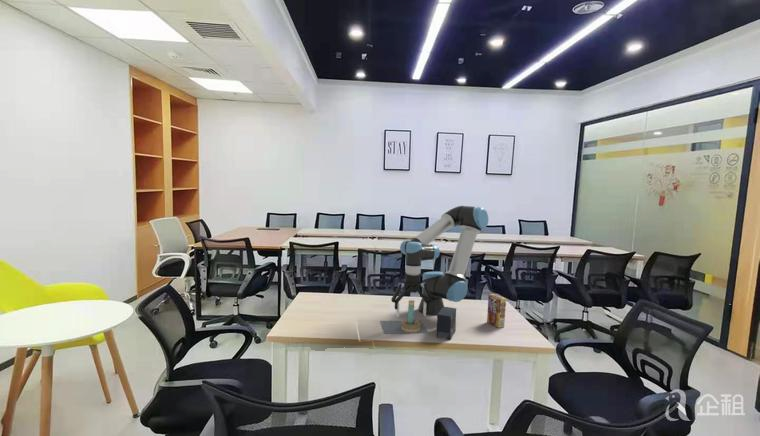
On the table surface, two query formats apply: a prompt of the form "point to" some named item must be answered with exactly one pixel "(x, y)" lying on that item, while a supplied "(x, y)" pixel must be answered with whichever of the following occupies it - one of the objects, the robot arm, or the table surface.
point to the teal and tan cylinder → (411, 312)
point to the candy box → (496, 310)
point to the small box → (446, 323)
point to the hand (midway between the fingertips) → (411, 315)
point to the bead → (410, 326)
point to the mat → (399, 328)
